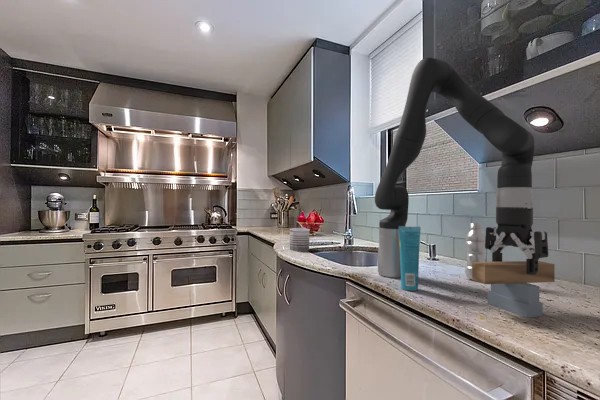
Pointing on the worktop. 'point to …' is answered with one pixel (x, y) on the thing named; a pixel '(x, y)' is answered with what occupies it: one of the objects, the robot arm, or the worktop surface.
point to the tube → (409, 256)
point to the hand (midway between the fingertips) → (513, 270)
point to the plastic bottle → (474, 247)
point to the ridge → (517, 298)
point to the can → (299, 239)
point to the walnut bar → (511, 272)
